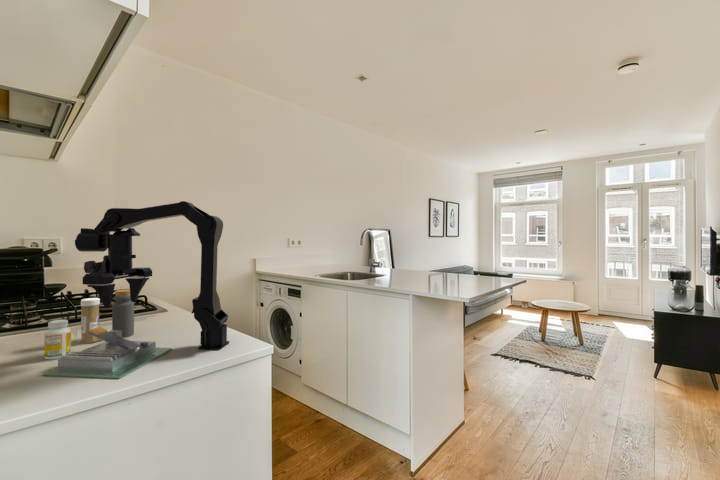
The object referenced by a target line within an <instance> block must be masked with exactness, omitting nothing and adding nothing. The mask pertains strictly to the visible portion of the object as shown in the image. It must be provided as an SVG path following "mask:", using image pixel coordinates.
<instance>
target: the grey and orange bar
mask: <svg viewBox="0 0 720 480" xmlns="http://www.w3.org/2000/svg"><path fill="white" fill-rule="evenodd" d="M108 331H109V330H108V329H107V328H105V327H101V326H99V327H97V328H94V329H91V330H90V331H89V334H90V335H93V336H95V337H97V338H100V339H102V340H101V341H103V342H106V341H107V342H109V343H112V344H114V345H116V346H119V347H121V348H124V349H126V350H127V349H128V348H135V352H137V351H139V350H141V349H143V348H144V346H143V345H142V346H141V345H139V344H136V343H134V342H132V341H133V340H129V339H126V338H125V337H123V338H122V337H120V336H117V335H115V334H112V333H110V332H108Z"/></svg>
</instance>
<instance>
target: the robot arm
mask: <svg viewBox="0 0 720 480" xmlns="http://www.w3.org/2000/svg"><path fill="white" fill-rule="evenodd" d="M175 217H184V218H185V219H187V220H188V221H189V222H190V223H192V224H193V225H195V226H196V231H197V237H198V240H199V242H200V244H201V250H200V253H201V255H200V256H201V257H200V284H199V287H200V289H199V294H198V296H196V297H195V298H192V302H191V303H192V311H191V314H193V317H194V320H195V321H197V322H198V324H199V325H200V328H201V331H200V346H198V349H199V350H221V349H222V348H224V347H225V346H226V345H228V344H230V341H229V340H228V338H227V337H228V324H227V321H228V319H229V315H228V314H227V313H226V312H225V311H224V310H223V309H222V306H221V300H220V297H219V293H218V290H217V274H218V246H219V242H220V240H221V237H222V233H223V229H224V221H223V220H222V219H221V218H220V217H218V216H216V215H210V214H209V213H207V212H205V211H204V210H202V209H200V208H198V207H197V206H196V205H194V204H193V203H191V202H190V201H184V200H183V201H182V200H181V201H179V202H174V203H167V204H160V205H153V206H149V207H142V208H130V207H129V208H127V207H126V208H125V207H124V208H123V207H121V208H120V207H112V208H108V209H106V211H105V213H104V215H103V218H102V219H101V220H100V221H99V223H98V224H97V225H96V226H95V228H87V227H86V228H85V227H84V228H80V232H79V233H78V234H77V236H76V238H75V240H74V245H75V248H76V250H77V251H79V252H81V253H84V252H86V253H91V252H92V253H93V252H103V253H104V252H105V251H107V255H104V256H103V257H102V258H103V259H102V261H99V262H98V261H97V262H96V261H95V260H88V261H85V262H84V264H83V270H84V275H83V276H82V285H86V286H87V287H88V288H91V289H93V290H95V292H96V293H97V295H98V296H99V297H98V298H99V299H100V300H101V301H100V302H101V303H102V305H103V306H104V309H110V306H111V304H112V301H113V295H114V293H115V286H116V284H115V283H114V281H115V280H118V279H125V280H126V282H127V284H128V285H129V289H130V298H131V301H132V302H134V303H135V302H136V301H137V299H138V296H139V294H140V293H141V292H142V289H143V288H144V287H145V284H146V283H147V281H149V280H150V277H153V269H152V268H151V267H143V266H142V267H137V266H136V267H133V259H136V258H137V254H133V237H141V233H139V232H138V231H136V230H135V228H134V227H137V226H140V225H141V224H144V223H147V222H151V221H157V220H162V219H164V220H165V219H170V218H175ZM125 229H127V230H125ZM110 233H112V234H110Z"/></svg>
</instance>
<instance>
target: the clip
mask: <svg viewBox="0 0 720 480" xmlns="http://www.w3.org/2000/svg"><path fill="white" fill-rule="evenodd" d="M108 332H110V333H112V334H115V335H117V336H120V337H122V330H112V329H111V330H108ZM97 340H99V341H103V340H102V339H100V338H97ZM105 342H107V341H105Z"/></svg>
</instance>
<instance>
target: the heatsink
mask: <svg viewBox="0 0 720 480" xmlns="http://www.w3.org/2000/svg"><path fill="white" fill-rule="evenodd" d="M131 341H132V342H134V343H136V344H139V345H141V346H142V345H143V346H144V348H143V349H141V350H139V351H137V352H135V348H128V349H127V350H126V349H124V348H121V347H119V346H116V345H114V344H112V343H109V342H106V341H103V342H101V343H98V344H96V345H93V346H90V347H88V348H84V349H83V350H81V351H71V353H67V354H66V355H62V356H60V358H59V359H57V367H54V368H52V369H50V370H47V371H44V372H43V376H50V377H71V378H72V377H75V378H93V379H95V378H96V379H115V380H116V379H117V380H119V379H122V378H124V377H126V376H127V375H129V374H131V373H133V372H135V371H136V370H138V369H140V368H142V367H144V366H145V365H147V364H149V363H151V362H152V361H155V360H157V359H158V358H160V357H162V356H164V355H166V354H167V353H169V352H171V351H172V350H173V348H172V347H158V346H156V341H148V340H144V341H143V340H141V341H140V340H131Z"/></svg>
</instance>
